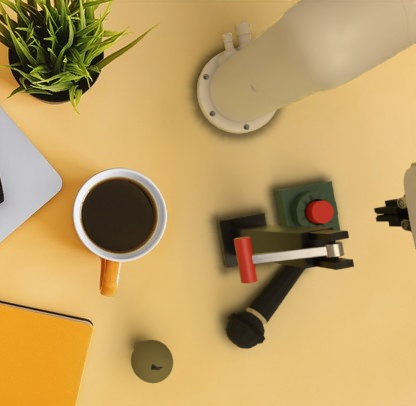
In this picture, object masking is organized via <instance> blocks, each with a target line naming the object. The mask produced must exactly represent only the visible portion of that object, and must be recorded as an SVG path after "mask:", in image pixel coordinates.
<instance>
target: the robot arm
mask: <svg viewBox="0 0 416 406" xmlns="http://www.w3.org/2000/svg"><path fill="white" fill-rule="evenodd" d="M250 26H251V25H250V22H249V21H242V22H239V23H237V24H235V32H236V38H237V39H238V46H237V47H236V48H235V46H234V37H233V33H232V32H226V33H223V34H222V36H221V37H222V43H223V46H224V50H223V51H221V52H219V53H218V54H216V55H215V56H213V57H212V58H211V59H210V60H209V61H208V62H206V64H205V65H204V67H203V68H202V69H201V71H200V73H199V76H198V79H197V83H196V97H197V98H196V99H197V103H198V106H199V108H200V111H201V112H202V114H203V116H204V117H205V118H206V119H207V121H208V122H209V123H210V124H212V125H213V126H214V127H216V129H219V130H221V131H222V132H225V133H229V134H238V135H240V134H247V133H250V132H254V131H256V130H258V129H261V128H262V127H264V126H265V125H266V124H268V123H269V122H270V120H271V119H272V118H273V117H274V115H275V114H276V112H277V110H280V109H282V108H285V107H287V106H290V105H293V104H294V103H297V102H300V101H302V100H304V99H305V98H308V97H310V96H313V95H315V94H319V93H322V92H328V91H332V90H335V89H338V88H339V87H342V86H344V85H347V84H348V83H350V82H352V81H354V80H356V79H357V78H359V77H362V76H363V75H364V74H366V73H368V72H370V71H372V70H373V69H375V68H377V67H378V66H380V65H382V64H383V63H386V62H387V61H389V60H390V59H392V58H393V57H396V56H397V55H398V54H400V53H402V52H403V51H405V50H407V49H409V48H410V47H412V46H414V45H415V44H416V0H299V1H297V2H296V3H294V4H293V5H292V6H291V7H289V8H288V9H287V10H286V11H284V13H283V14H282V15H281V17H280V18H279V19H278V20H276V21H275V22H274V23H273V24H272V25H270V26H269V27H268V28H267V29H266V30H264V31H263V32H261V34H259V35H258V36H257V37H255V38H254V39H252V36H251V35H252V32H251V27H250ZM403 191H404V194H403V196H402V197H399V198H393V199H386V200H384V205H385V206H379V207H373V211H374V213H375V214H376V216H375V221H376V222H377V223H382V222H383V223H385V222H386V223H388V227H393V228H394V227H395V228H400V227H401V228H402V230H403V231H405V232H406V231H407V232H410V233H411V236H412V241H413V246H414V248H415V250H416V162H412V163H411V164H410V166H409V167H408V168H407V169H406V170H405V172H404V175H403Z"/></svg>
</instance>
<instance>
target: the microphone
mask: <svg viewBox="0 0 416 406" xmlns="http://www.w3.org/2000/svg"><path fill="white" fill-rule="evenodd" d="M305 270H306V269H305V268H300V267H294V266H289V265H284V267H283V268H281V270H280V271H279V272H278V273H277V274H276V275H275V276H274V278H273V279H272V280H271V281H270V282H269V283H268V284H267V285H266V287H264V288H263V289H262V290H261V292H260V293H259V294H258V295H257V296H256V297H255V298H254V299H253V301H251V303H250V304H249V305H248V306H247V307H246V311H244V310H243V311H239V312H237V313H236V312H233V313H231V314H230V315H229V316H228V318H227V319H228V321H227V323H226V327H225V333H226V336H227V338H228V340H229V341H230V342H231V343H232V344H234V345H235V346H236V347H238V348H240V349H245V350H249V349H253V348H254V347H256V346H257V345H261V344H263V343H264V341H265V340H266V337H265V333H266V332H265V331H266V329H265V326H264V325H266V324H268V323H269V322H270V320H271V319H272V317H273V316H274V314H275V313H276V311H277V310H278V309H279V307H280V306H281V304H282V303H283V301H284V300H285V298H286V297H287V296H288V294H289V292H291V290H292V288H293V287H294V286H295V284H296V283H297V281H298V280H299V278H300V277H301V276H302V274H303V273H304V271H305Z"/></svg>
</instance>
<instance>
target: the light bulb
mask: <svg viewBox="0 0 416 406" xmlns="http://www.w3.org/2000/svg"><path fill="white" fill-rule="evenodd" d="M173 357H174V356H173V354H172V352H171V350H170V348H169V347H168V346H167V345H166V344H165V343H163V342H161V341H160V340H156V339H146V340H139V341H136V343H135V344H134V346H133V350H132V352H131V356H130V366H131V369H132V371H133V372H134V374H135V376H136V377H137V378H139V380H141V381H142V382H145V383H148V384H157V383H161V382H163V381H165V380H166V379H168V378H169V376H170V375H171V373H172V371H173V368H174V358H173Z"/></svg>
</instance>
